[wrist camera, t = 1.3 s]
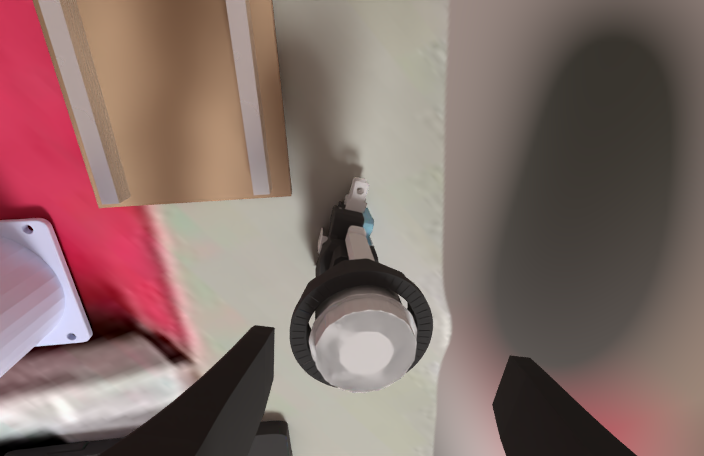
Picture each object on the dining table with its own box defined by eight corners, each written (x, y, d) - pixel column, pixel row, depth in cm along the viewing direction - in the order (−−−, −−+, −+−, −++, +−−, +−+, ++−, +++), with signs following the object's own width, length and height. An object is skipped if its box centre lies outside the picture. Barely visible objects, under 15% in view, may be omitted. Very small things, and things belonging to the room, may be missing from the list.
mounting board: (107, 203, 19) (98, 207, 18) (-7, -167, 13) (-26, -182, 13) (291, 192, 20) (291, 196, 19) (255, -162, 14) (252, -176, 14)
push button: (315, 165, 19) (316, 232, 10) (404, 186, 20) (479, 266, 11) (291, 269, 22) (274, 402, 12) (373, 283, 23) (414, 418, 13)
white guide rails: (115, 197, 18) (84, 213, 16) (11, -152, 13) (-58, -207, 11) (272, 188, 19) (266, 202, 16) (230, -149, 14) (213, -200, 11)
